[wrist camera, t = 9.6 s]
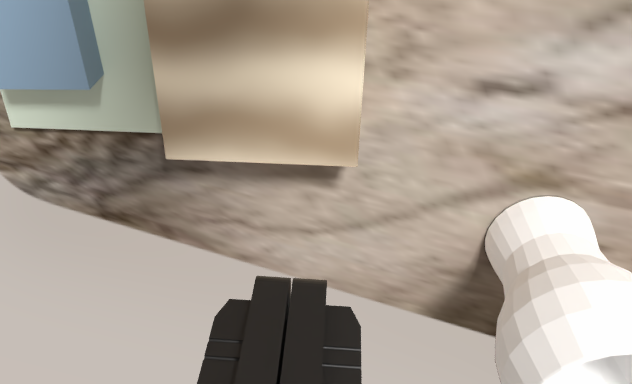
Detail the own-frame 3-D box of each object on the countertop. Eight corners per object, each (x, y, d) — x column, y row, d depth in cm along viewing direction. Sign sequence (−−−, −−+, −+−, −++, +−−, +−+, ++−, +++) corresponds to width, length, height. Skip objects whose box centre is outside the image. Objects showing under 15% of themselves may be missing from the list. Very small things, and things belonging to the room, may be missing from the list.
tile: (50, -72, 30) (69, -80, 32) (-63, -72, 30) (-36, -79, 32) (89, 89, 35) (104, 74, 37) (-8, 89, 35) (12, 73, 37)
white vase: (640, 196, 41) (768, 366, 29) (570, 301, 47) (652, 481, 34) (498, 163, 40) (566, 324, 28) (445, 275, 46) (481, 450, 34)
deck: (143, -184, 30) (117, -182, 27) (377, -178, 30) (380, -176, 26) (181, 129, 40) (165, 159, 36) (356, 136, 40) (357, 166, 36)
